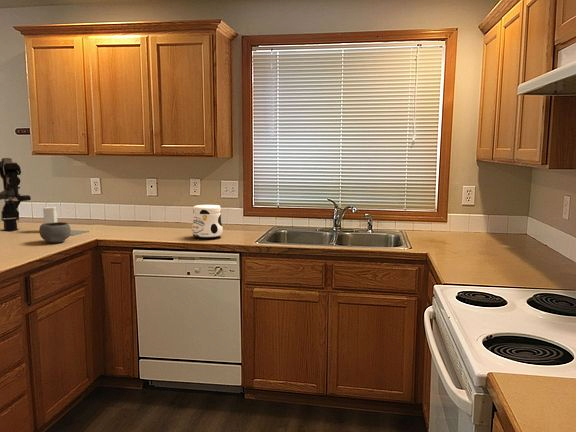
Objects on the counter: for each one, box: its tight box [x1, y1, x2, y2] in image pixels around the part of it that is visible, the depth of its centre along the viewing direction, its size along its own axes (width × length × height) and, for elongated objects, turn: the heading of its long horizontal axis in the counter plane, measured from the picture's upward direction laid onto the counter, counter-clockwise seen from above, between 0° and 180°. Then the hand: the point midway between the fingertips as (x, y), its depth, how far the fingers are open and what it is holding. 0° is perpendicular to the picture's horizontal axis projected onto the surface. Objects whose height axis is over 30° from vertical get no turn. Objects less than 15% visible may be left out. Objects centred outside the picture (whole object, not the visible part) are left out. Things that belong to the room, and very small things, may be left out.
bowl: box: [38, 221, 72, 244], centre depth 262 cm, size 15×15×10 cm
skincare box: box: [42, 206, 58, 224], centre depth 293 cm, size 8×6×15 cm
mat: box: [69, 229, 89, 236], centre depth 291 cm, size 16×14×1 cm
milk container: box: [191, 204, 224, 239], centre depth 281 cm, size 17×17×18 cm
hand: (14, 212), depth 278 cm, fingers closed
